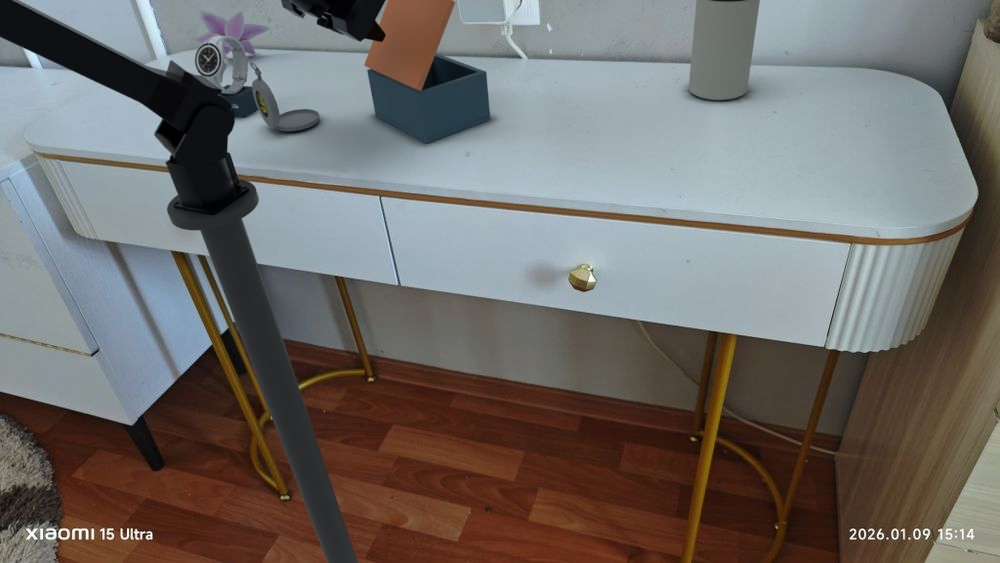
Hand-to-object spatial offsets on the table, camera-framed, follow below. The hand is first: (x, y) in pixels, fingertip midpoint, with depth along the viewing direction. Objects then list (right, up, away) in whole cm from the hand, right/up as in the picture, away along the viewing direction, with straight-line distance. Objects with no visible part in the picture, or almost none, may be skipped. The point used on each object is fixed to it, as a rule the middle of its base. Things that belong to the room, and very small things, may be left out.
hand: (382, 38), depth 87 cm
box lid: (+3, +1, +2) cm, 4 cm away
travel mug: (+46, -4, +10) cm, 47 cm away
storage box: (+5, -8, +10) cm, 14 cm away
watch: (-25, -5, +18) cm, 31 cm away
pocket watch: (-15, -9, +11) cm, 21 cm away
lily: (-33, +9, +38) cm, 51 cm away
